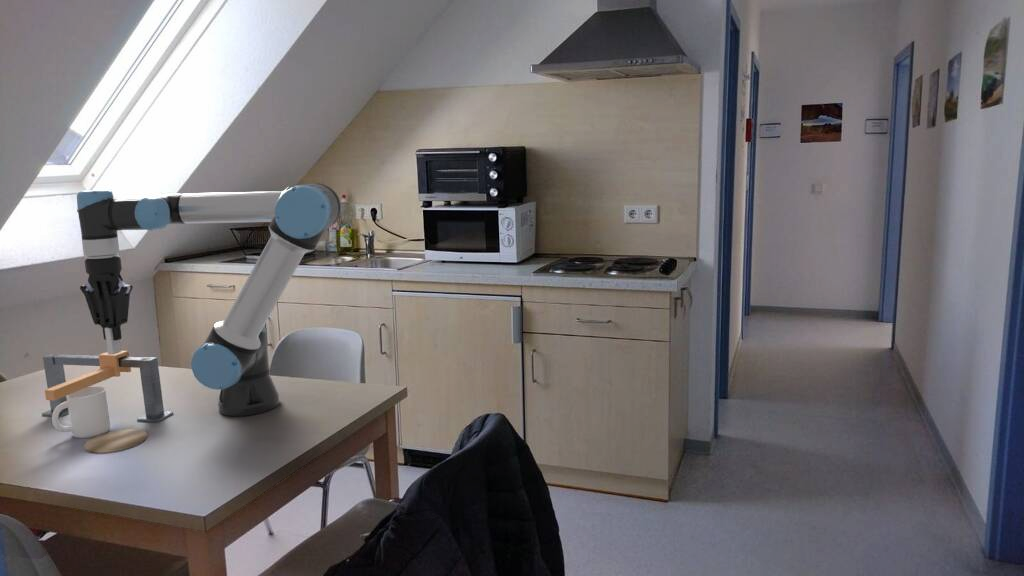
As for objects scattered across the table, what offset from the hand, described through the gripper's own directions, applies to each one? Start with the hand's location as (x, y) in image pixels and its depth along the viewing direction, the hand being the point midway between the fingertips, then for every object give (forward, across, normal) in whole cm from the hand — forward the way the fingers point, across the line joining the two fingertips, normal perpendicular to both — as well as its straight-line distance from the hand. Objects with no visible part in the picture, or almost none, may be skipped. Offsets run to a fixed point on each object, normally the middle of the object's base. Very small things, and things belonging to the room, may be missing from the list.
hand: (114, 352), depth 182 cm
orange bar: (+8, +8, +1) cm, 11 cm away
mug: (+20, +8, +5) cm, 22 cm away
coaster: (+19, -4, +8) cm, 21 cm away
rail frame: (+19, +12, -8) cm, 24 cm away
